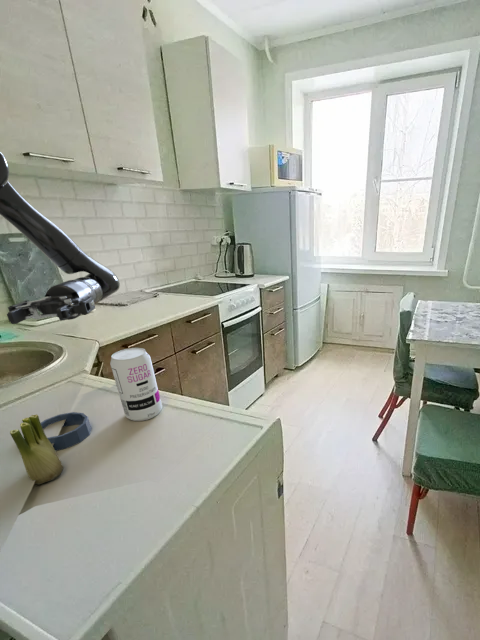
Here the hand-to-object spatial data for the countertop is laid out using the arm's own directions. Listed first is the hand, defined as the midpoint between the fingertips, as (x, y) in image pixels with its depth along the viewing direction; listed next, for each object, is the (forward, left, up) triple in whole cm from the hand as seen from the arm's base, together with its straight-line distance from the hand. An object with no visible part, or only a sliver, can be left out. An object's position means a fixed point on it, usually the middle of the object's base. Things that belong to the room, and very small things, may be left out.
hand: (35, 316), depth 65 cm
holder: (-3, -1, -26) cm, 26 cm away
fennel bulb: (-2, -14, -26) cm, 30 cm away
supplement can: (+13, +3, -26) cm, 29 cm away
